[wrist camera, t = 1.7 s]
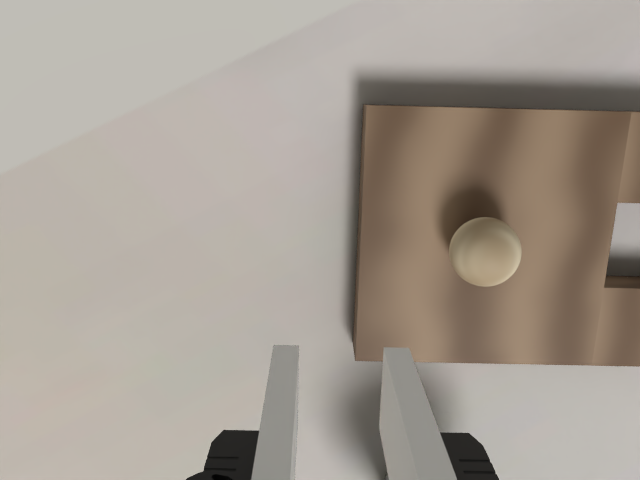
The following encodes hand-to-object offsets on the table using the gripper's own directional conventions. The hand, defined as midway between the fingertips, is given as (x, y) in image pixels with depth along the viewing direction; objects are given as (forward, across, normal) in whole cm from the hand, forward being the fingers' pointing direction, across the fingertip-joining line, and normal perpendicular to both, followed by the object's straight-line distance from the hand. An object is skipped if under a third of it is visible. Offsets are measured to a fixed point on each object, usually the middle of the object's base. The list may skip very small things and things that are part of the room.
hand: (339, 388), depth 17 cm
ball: (+16, -9, 0) cm, 18 cm away
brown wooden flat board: (+21, -14, 0) cm, 25 cm away
